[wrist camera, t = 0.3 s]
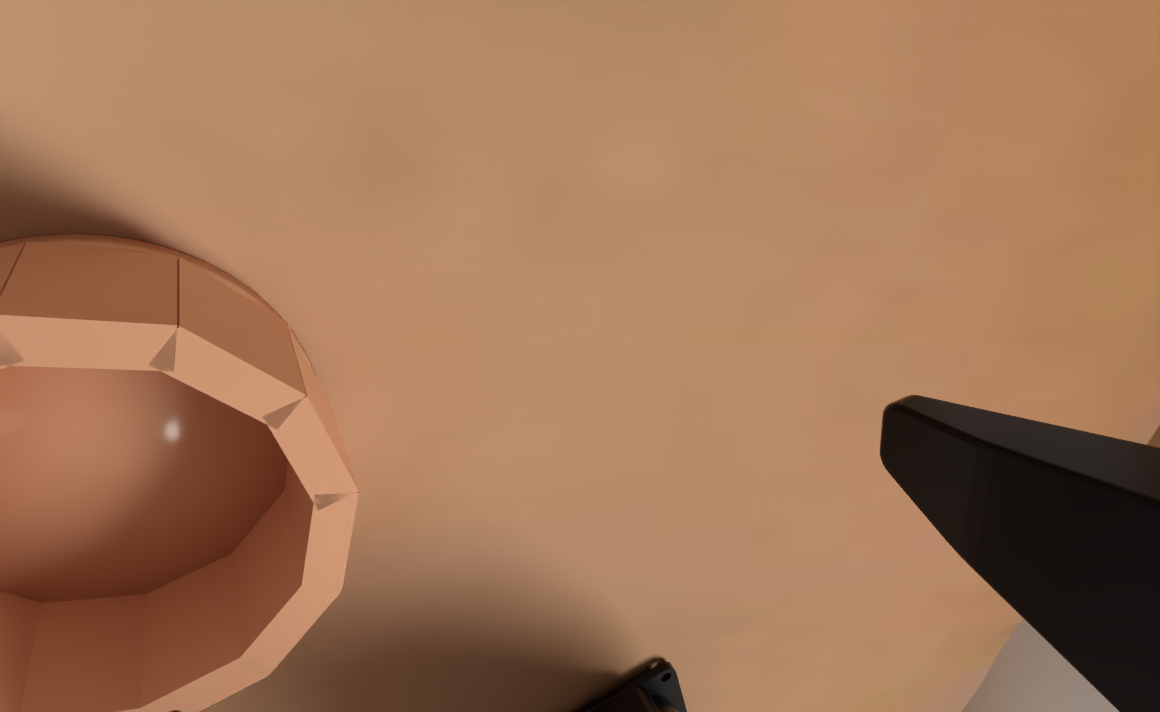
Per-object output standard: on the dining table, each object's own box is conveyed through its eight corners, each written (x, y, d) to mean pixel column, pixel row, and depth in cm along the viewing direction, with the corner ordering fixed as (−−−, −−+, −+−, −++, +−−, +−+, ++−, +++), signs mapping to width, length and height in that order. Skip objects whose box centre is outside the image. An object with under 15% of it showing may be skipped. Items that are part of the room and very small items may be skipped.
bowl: (378, 491, 25) (417, 599, 21) (12, 664, 22) (-24, 826, 18) (208, 165, 19) (217, 229, 15) (-322, 353, 16) (-486, 492, 12)
